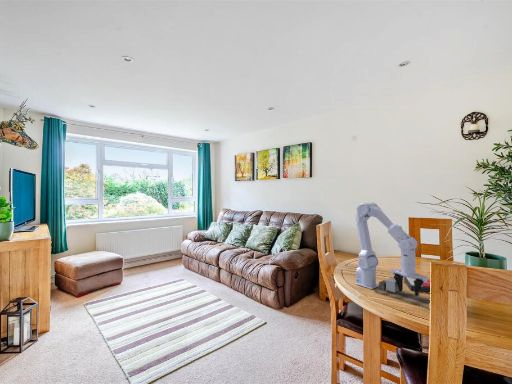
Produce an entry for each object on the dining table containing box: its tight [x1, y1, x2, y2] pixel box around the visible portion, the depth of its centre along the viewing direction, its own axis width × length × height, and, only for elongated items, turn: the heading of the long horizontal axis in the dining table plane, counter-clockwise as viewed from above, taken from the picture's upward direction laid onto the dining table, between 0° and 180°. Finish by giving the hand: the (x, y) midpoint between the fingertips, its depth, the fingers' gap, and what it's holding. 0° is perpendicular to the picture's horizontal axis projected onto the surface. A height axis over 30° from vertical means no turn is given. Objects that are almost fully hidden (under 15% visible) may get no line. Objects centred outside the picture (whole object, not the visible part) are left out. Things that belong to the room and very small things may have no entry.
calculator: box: [403, 276, 431, 294], centre depth 127 cm, size 11×4×15 cm
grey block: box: [385, 277, 399, 293], centre depth 119 cm, size 4×6×5 cm
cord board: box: [374, 280, 430, 310], centre depth 114 cm, size 25×10×4 cm, turn 37°
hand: (408, 293), depth 113 cm, fingers open, 6 cm apart
